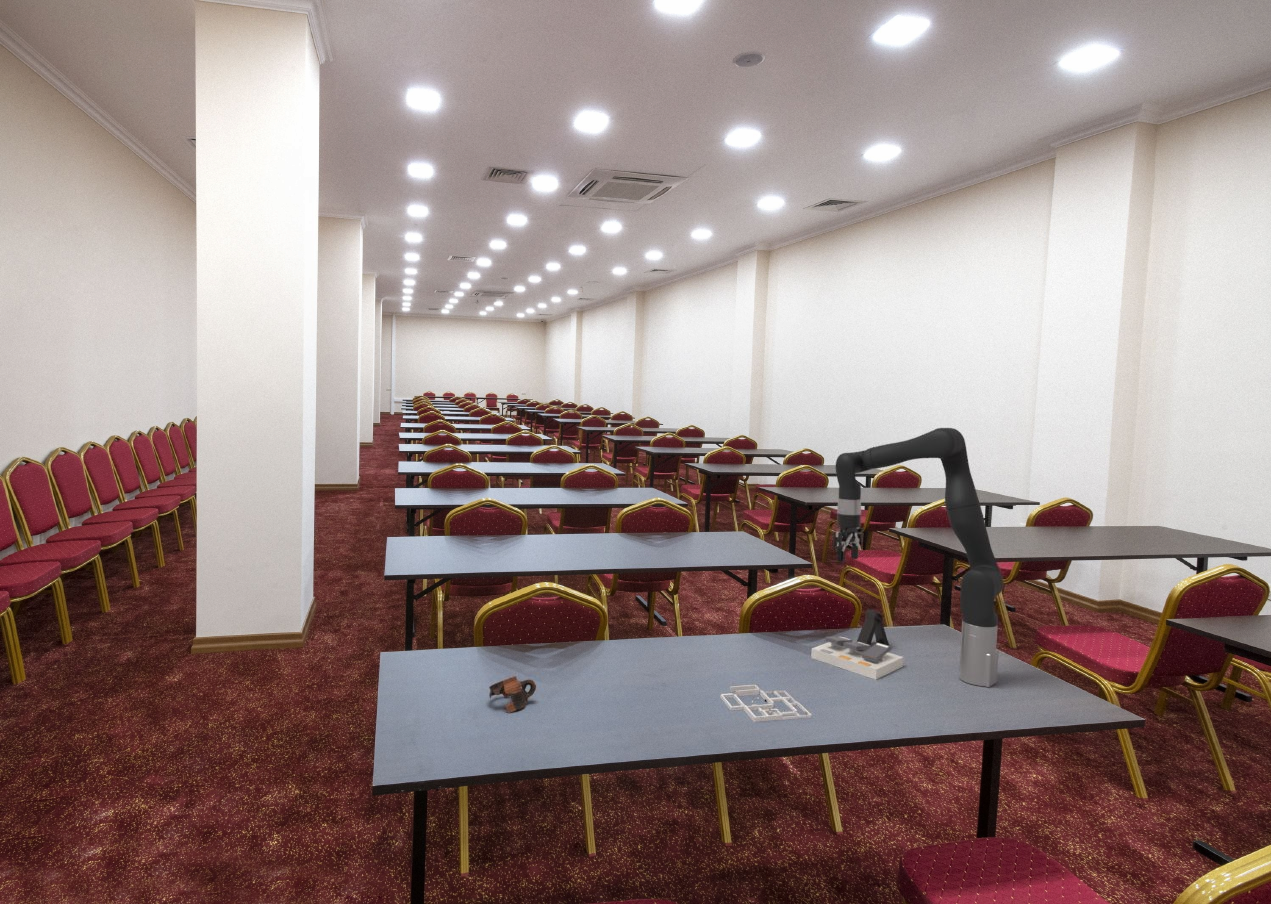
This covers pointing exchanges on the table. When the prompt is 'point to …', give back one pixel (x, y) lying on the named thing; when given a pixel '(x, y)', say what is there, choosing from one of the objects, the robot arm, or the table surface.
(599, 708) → the table surface
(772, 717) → the floor plan model
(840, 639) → the block
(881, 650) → the rocker
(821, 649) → the switch unit
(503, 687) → the pottery mug
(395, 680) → the table surface
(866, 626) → the phone stand
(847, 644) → the block
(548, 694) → the table surface
